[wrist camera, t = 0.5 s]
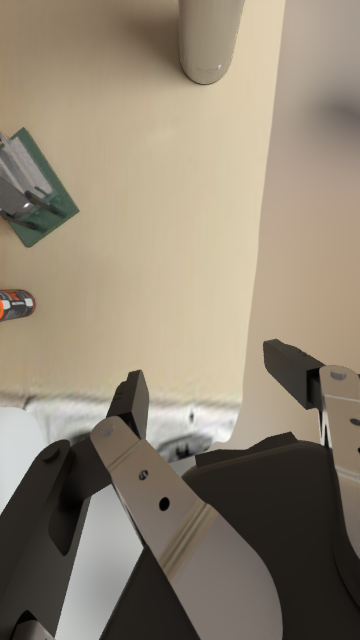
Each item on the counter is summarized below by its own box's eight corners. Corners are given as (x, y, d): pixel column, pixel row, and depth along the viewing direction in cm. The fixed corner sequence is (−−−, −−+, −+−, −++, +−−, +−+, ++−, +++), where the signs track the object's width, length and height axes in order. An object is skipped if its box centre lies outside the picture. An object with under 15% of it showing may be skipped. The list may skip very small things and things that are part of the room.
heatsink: (79, 211, 37) (53, 192, 29) (30, 247, 38) (-8, 237, 31) (28, 131, 34) (-16, 88, 27) (-23, 173, 36) (-78, 143, 28)
